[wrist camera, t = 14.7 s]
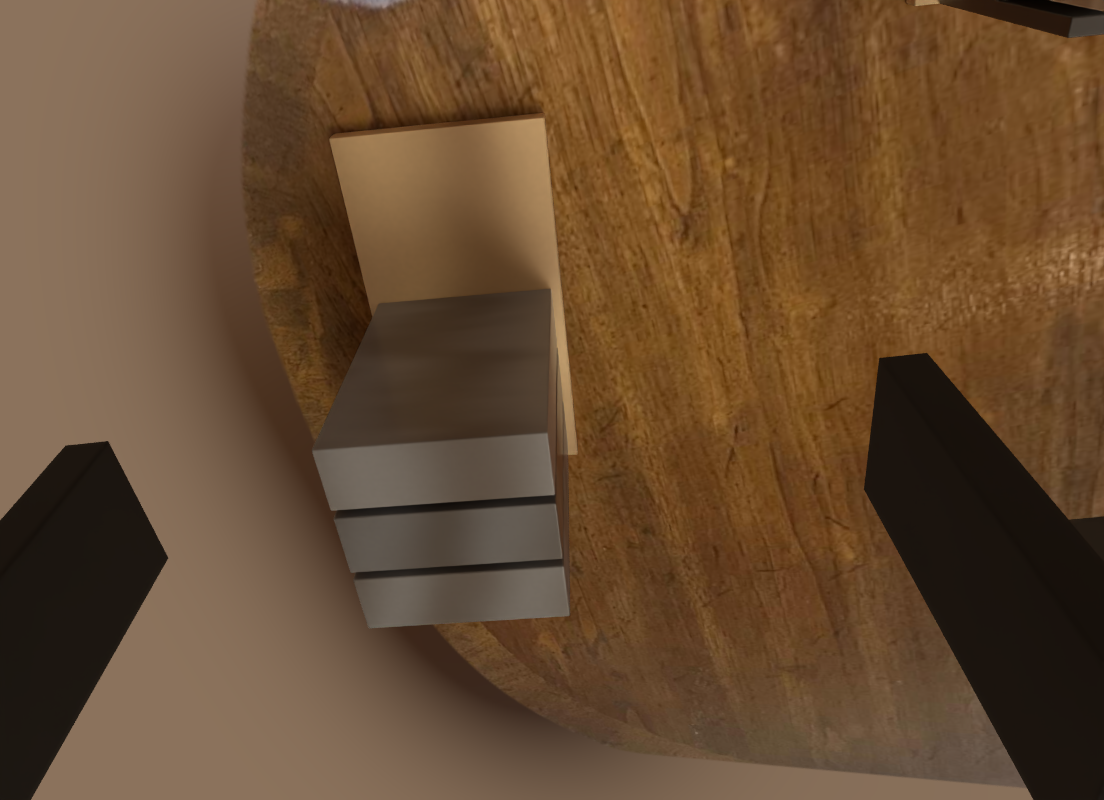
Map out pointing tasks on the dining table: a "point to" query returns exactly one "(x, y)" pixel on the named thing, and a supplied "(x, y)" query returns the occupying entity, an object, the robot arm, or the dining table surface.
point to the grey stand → (454, 378)
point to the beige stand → (1037, 14)
